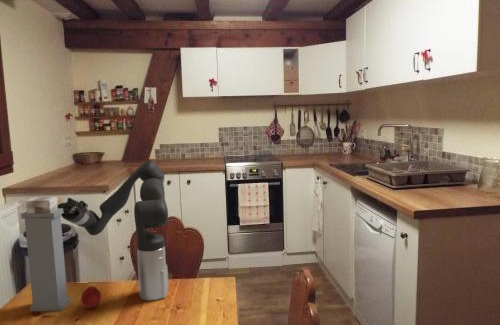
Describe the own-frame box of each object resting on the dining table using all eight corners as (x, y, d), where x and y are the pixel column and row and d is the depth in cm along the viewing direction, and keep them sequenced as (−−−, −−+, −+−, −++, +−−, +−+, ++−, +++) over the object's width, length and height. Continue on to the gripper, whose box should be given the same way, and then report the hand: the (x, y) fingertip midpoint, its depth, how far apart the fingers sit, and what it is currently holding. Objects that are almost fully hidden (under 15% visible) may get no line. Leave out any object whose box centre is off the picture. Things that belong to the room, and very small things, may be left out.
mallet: (68, 202, 126) (67, 191, 126) (50, 212, 113) (49, 200, 113) (47, 203, 126) (46, 191, 125) (27, 213, 113) (25, 201, 112)
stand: (70, 300, 123) (63, 208, 118) (62, 310, 117) (53, 213, 113) (40, 301, 122) (31, 209, 118) (30, 311, 116) (20, 214, 112)
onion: (104, 303, 121) (103, 280, 120) (95, 313, 115) (94, 289, 114) (88, 303, 121) (86, 280, 120) (78, 312, 116) (76, 288, 114)
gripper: (58, 203, 140) (36, 190, 125) (96, 203, 140) (78, 189, 125) (55, 223, 137) (32, 212, 122) (93, 222, 137) (75, 211, 122)
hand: (55, 200), depth 124 cm, fingers open, 8 cm apart
